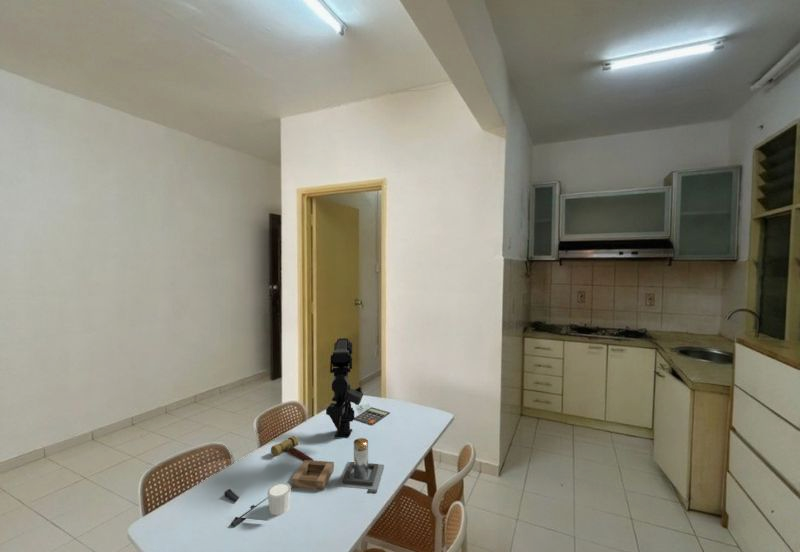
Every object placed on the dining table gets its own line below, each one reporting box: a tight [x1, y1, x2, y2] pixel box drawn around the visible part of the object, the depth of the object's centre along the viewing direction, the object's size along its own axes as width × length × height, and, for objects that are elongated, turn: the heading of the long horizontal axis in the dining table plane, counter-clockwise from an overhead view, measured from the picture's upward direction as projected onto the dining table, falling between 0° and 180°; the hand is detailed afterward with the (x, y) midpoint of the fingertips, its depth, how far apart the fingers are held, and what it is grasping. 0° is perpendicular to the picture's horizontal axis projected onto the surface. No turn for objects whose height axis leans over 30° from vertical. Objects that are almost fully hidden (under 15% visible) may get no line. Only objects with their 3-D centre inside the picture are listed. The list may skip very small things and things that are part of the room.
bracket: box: [224, 488, 268, 528], centre depth 110 cm, size 14×15×3 cm
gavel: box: [270, 435, 315, 462], centre depth 135 cm, size 21×5×10 cm
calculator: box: [353, 407, 391, 426], centre depth 170 cm, size 12×1×15 cm
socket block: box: [291, 459, 335, 491], centre depth 121 cm, size 11×11×4 cm
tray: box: [335, 461, 385, 493], centre depth 123 cm, size 14×14×2 cm
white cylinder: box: [267, 482, 292, 516], centre depth 106 cm, size 7×7×7 cm
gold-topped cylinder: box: [353, 437, 369, 479], centre depth 122 cm, size 5×5×12 cm
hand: (341, 422), depth 136 cm, fingers open, 9 cm apart
